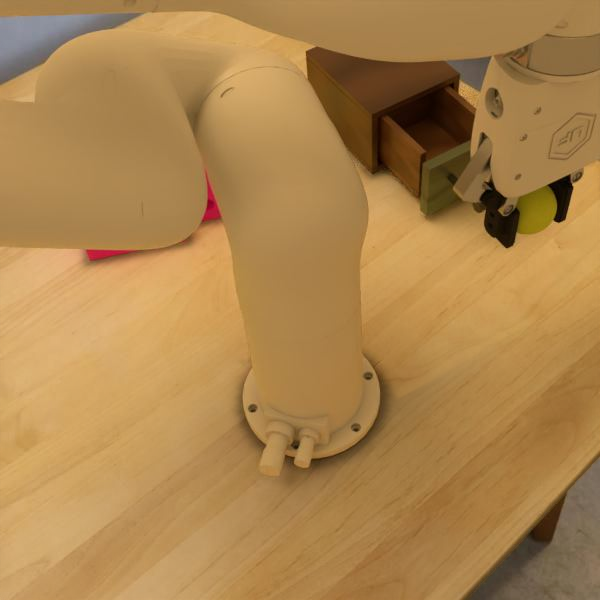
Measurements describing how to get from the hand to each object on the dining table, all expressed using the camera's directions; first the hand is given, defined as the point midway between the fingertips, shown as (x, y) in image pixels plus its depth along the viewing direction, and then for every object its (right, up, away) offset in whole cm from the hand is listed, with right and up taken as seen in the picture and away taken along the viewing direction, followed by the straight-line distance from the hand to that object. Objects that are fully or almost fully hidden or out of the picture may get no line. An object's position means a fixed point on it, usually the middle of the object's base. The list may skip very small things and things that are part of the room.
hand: (524, 222), depth 69 cm
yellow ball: (0, +1, -2) cm, 2 cm away
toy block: (-34, +2, +25) cm, 42 cm away
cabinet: (-8, +15, +33) cm, 37 cm away
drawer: (-2, +7, +25) cm, 26 cm away
